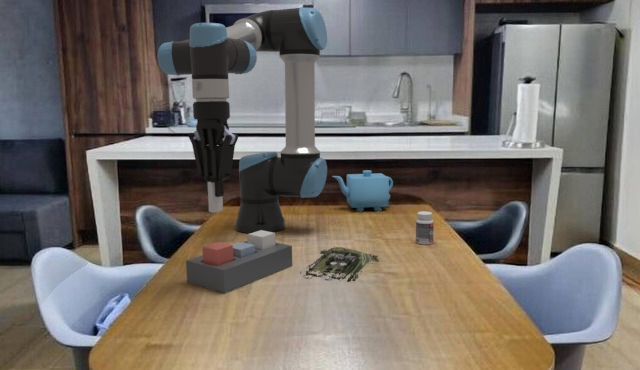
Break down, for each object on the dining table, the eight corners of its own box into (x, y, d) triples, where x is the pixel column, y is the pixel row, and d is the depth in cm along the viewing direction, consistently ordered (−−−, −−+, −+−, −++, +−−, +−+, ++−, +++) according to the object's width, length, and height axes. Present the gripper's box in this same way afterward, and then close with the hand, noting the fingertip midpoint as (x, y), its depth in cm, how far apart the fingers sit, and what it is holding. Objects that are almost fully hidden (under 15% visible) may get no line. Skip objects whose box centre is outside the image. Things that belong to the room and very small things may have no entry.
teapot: (389, 204, 198) (389, 167, 195) (396, 211, 187) (396, 172, 184) (330, 206, 196) (329, 169, 193) (333, 213, 185) (333, 173, 182)
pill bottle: (433, 245, 144) (434, 215, 143) (415, 244, 145) (416, 214, 144) (433, 240, 149) (433, 211, 148) (416, 239, 150) (416, 210, 149)
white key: (248, 250, 128) (247, 234, 127) (261, 245, 132) (261, 230, 131) (262, 253, 125) (262, 237, 125) (275, 248, 129) (275, 232, 128)
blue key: (227, 263, 123) (226, 246, 122) (241, 258, 126) (240, 242, 126) (241, 267, 120) (240, 249, 119) (255, 261, 124) (255, 245, 123)
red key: (203, 264, 117) (202, 246, 116) (219, 259, 121) (218, 241, 120) (217, 268, 114) (216, 250, 114) (233, 262, 118) (232, 245, 117)
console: (187, 281, 119) (186, 260, 118) (256, 257, 136) (255, 238, 135) (224, 293, 111) (223, 270, 111) (292, 265, 129) (291, 245, 128)
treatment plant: (373, 286, 116) (373, 270, 115) (292, 282, 119) (292, 266, 118) (381, 253, 140) (381, 239, 139) (314, 250, 143) (313, 237, 143)
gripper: (176, 100, 112) (182, 210, 116) (219, 100, 105) (224, 218, 109) (203, 100, 118) (208, 204, 122) (246, 100, 111) (250, 211, 114)
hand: (215, 211), depth 115 cm, fingers closed
